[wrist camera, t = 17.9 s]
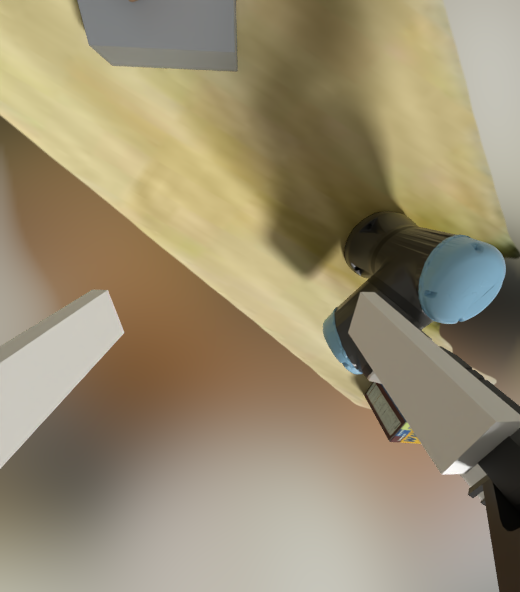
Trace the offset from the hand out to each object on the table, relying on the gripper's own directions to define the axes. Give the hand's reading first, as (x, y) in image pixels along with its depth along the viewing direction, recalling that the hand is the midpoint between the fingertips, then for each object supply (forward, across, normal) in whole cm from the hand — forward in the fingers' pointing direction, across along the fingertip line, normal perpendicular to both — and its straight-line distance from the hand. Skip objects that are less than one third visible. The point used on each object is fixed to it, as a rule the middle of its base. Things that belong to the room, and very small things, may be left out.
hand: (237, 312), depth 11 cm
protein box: (+37, +51, -57) cm, 85 cm away
